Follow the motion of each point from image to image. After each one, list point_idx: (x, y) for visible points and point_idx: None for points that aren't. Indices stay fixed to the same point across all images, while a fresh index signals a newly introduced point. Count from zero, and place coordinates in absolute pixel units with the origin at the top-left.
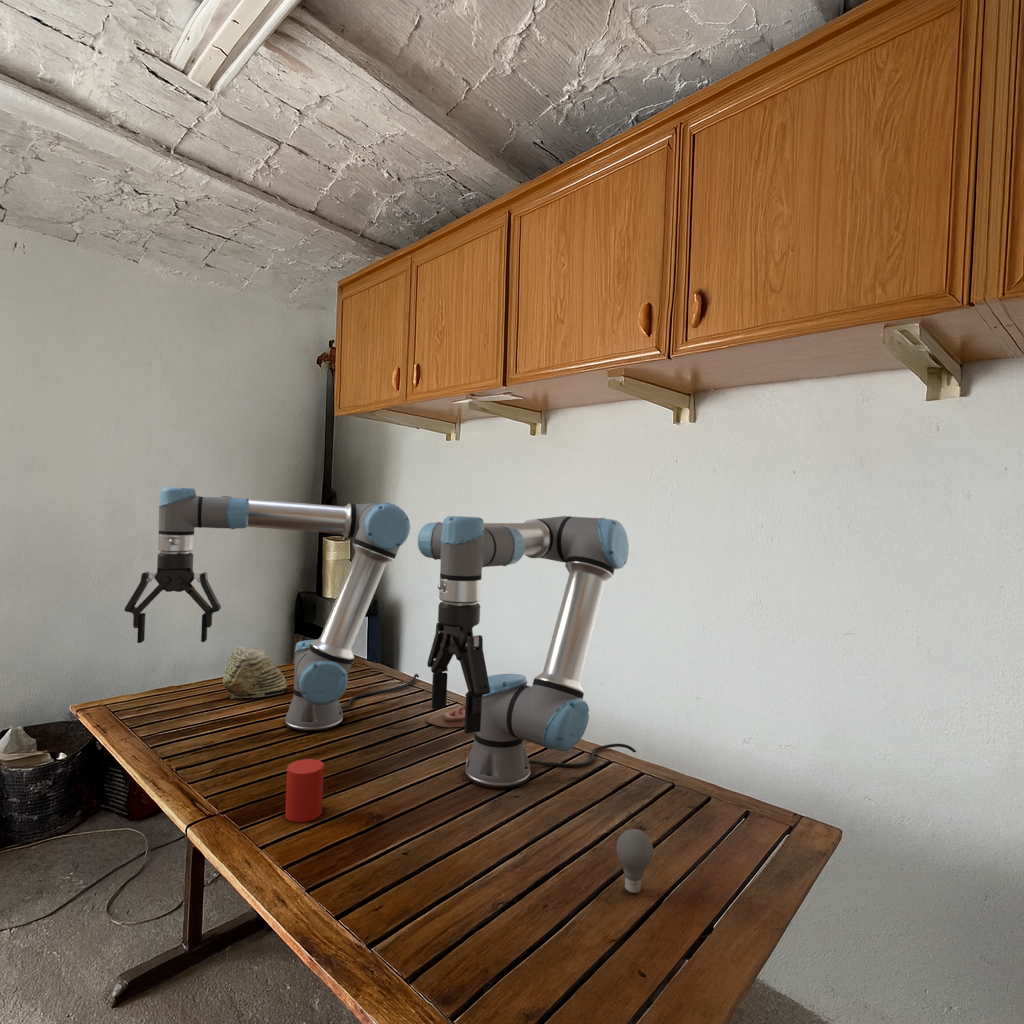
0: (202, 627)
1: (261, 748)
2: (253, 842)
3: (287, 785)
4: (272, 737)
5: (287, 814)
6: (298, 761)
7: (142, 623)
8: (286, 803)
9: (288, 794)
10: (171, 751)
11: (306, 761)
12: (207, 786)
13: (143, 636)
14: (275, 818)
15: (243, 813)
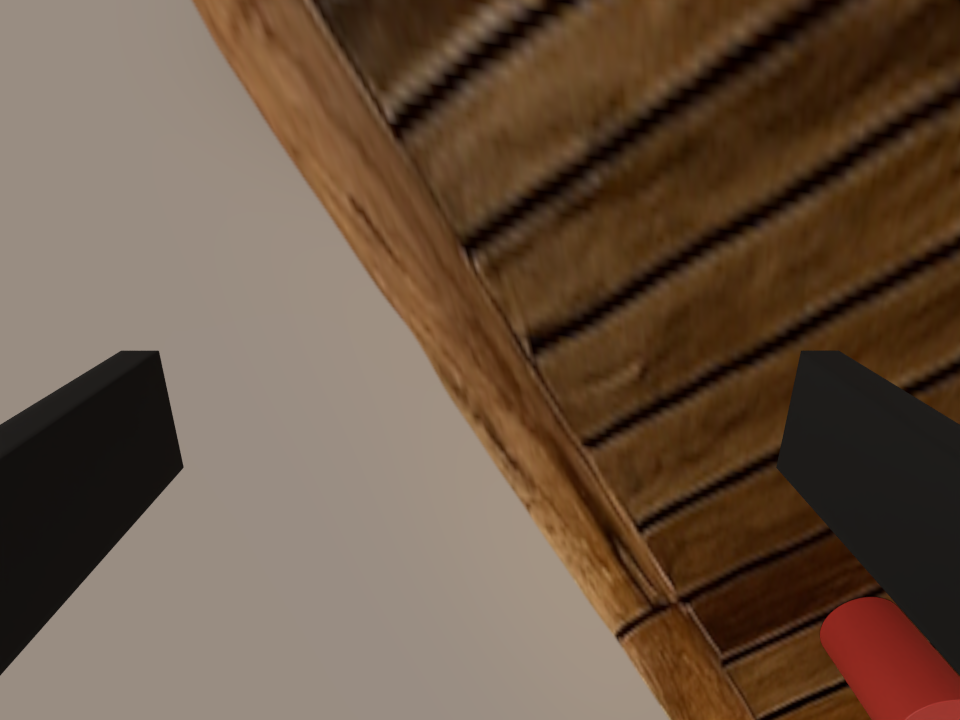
0: (890, 586)
1: (802, 204)
2: (746, 706)
3: (866, 710)
4: (858, 82)
5: (827, 652)
6: (931, 710)
7: (26, 584)
8: (838, 666)
9: (856, 696)
10: (479, 183)
11: (953, 712)
12: (637, 471)
13: (137, 413)
14: (797, 637)
15: (730, 609)
